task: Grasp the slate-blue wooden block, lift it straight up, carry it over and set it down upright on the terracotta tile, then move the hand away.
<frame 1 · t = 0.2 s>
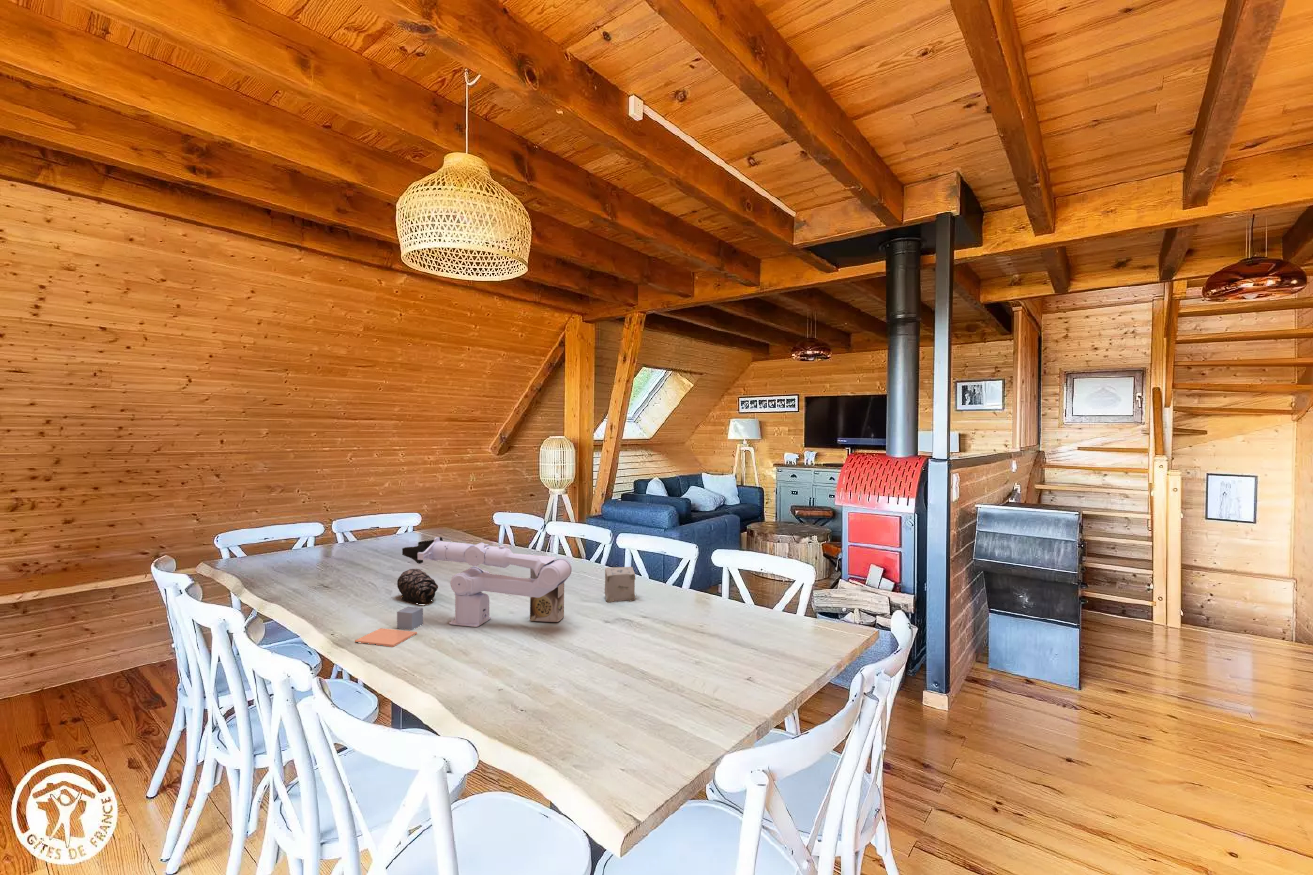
hand: (411, 548, 180), 21 cm above the table, tool horizontal, fingers open, 7 cm apart
slate block: (410, 626, 171), on the table
pine cone: (420, 600, 198), on the table
terracotta tile: (386, 638, 162), on the table
brown cardboard box: (619, 599, 200), on the table
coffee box: (546, 619, 178), on the table
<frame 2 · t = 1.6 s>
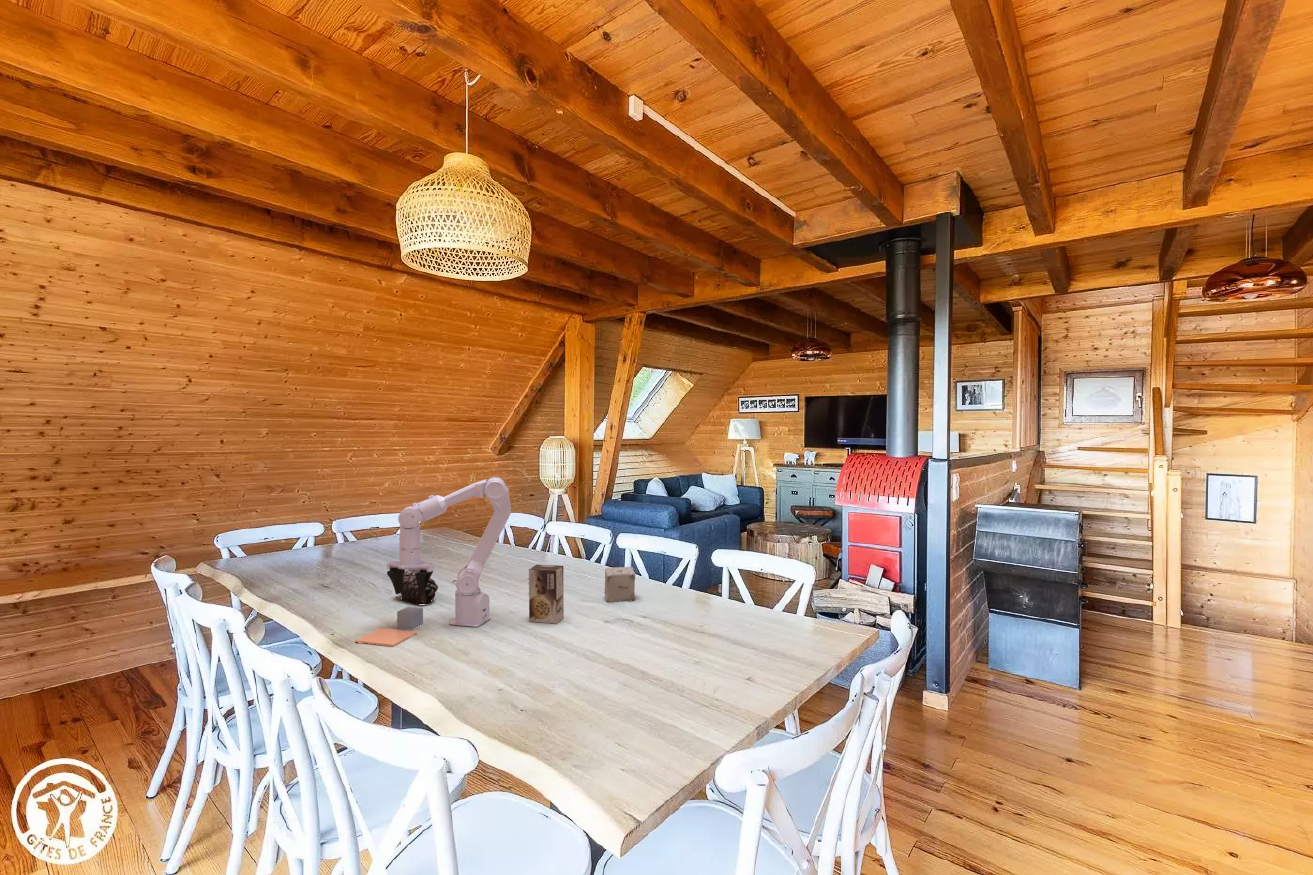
hand: (410, 594, 171), 9 cm above the table, tool pointing down, fingers open, 7 cm apart
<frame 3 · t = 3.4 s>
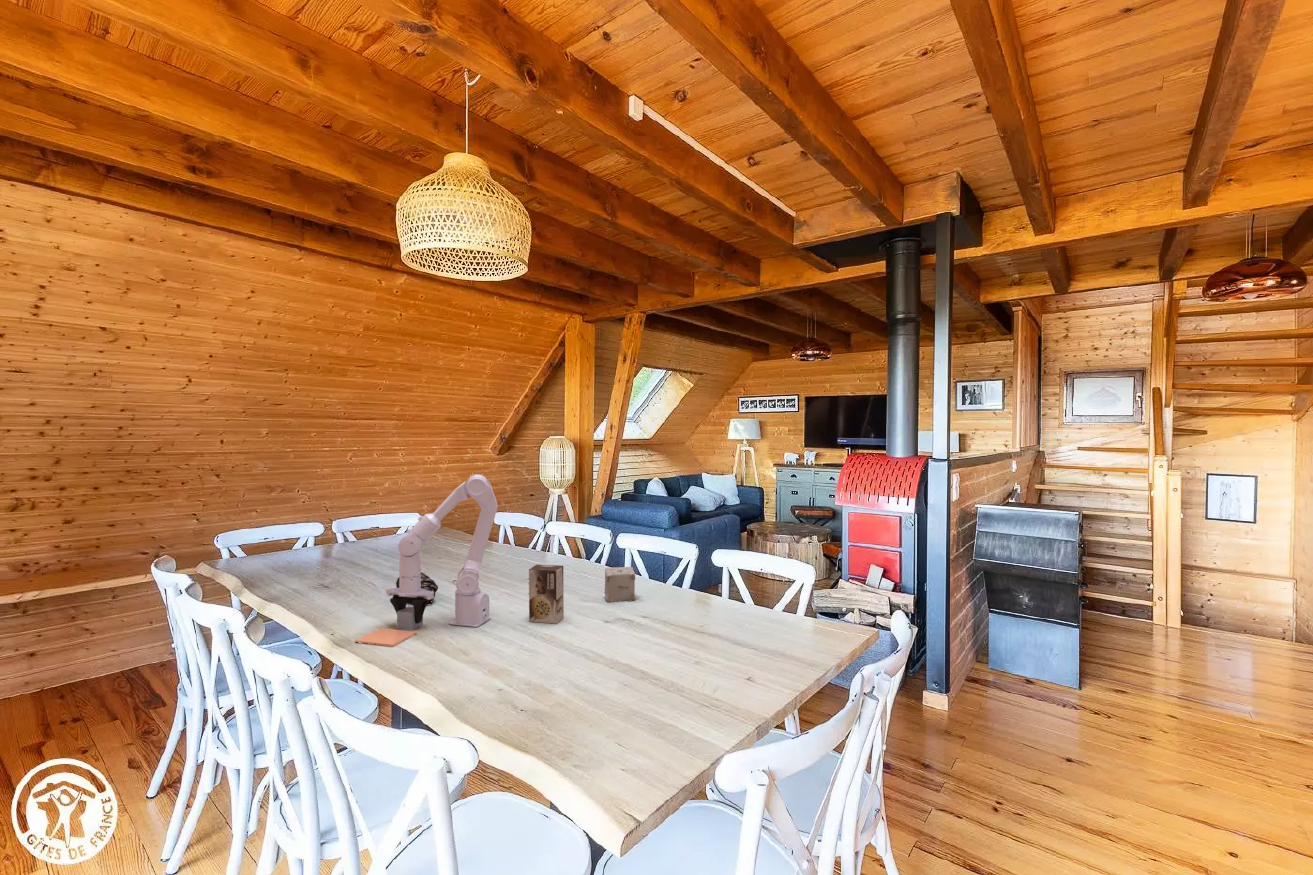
hand: (410, 621, 171), 1 cm above the table, tool pointing down, fingers closed on slate block, 5 cm apart
slate block: (410, 626, 171), on the table, touching gripper
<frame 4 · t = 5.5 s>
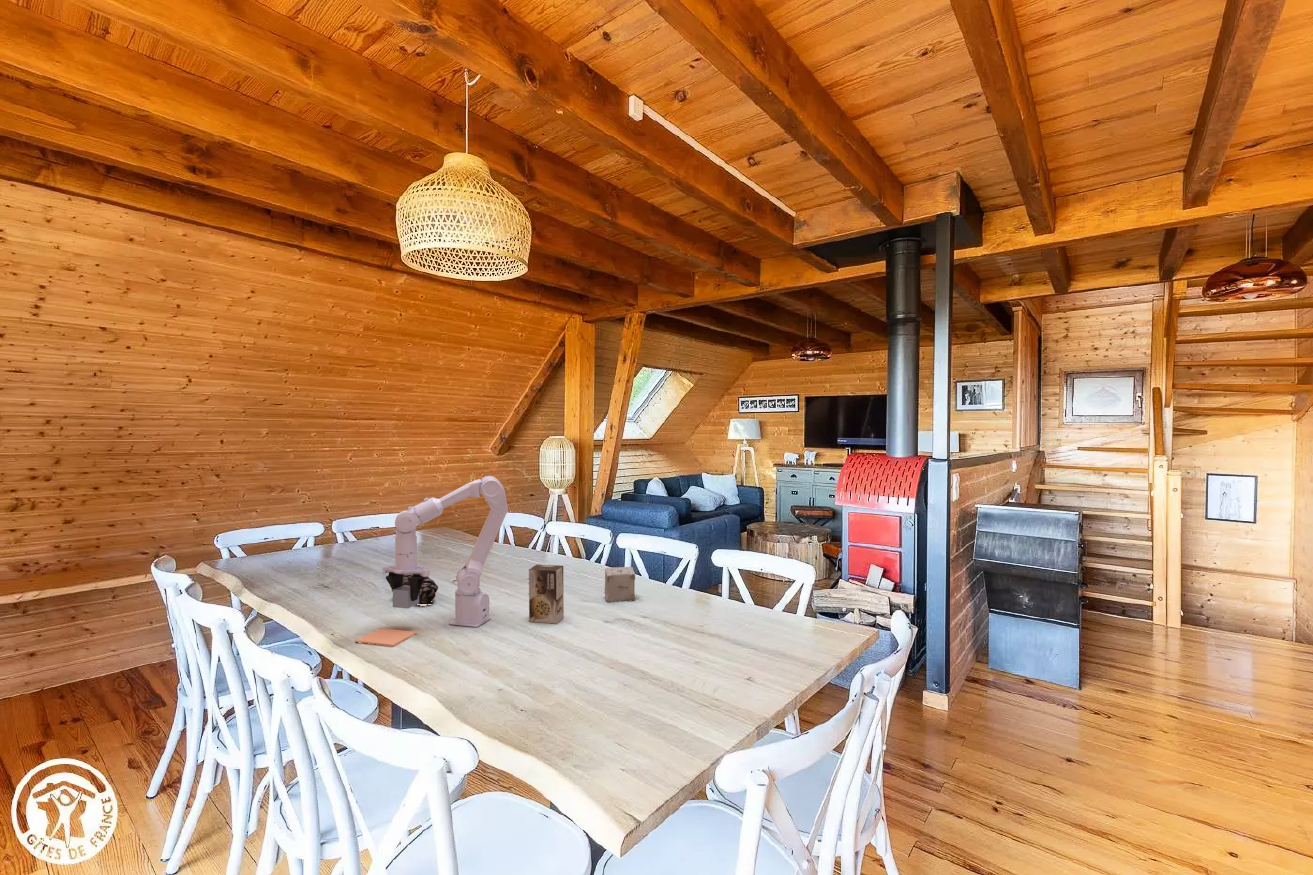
hand: (405, 599, 169), 8 cm above the table, tool pointing down, fingers closed on slate block, 5 cm apart
slate block: (406, 605, 170), point 7 cm above the table, touching gripper
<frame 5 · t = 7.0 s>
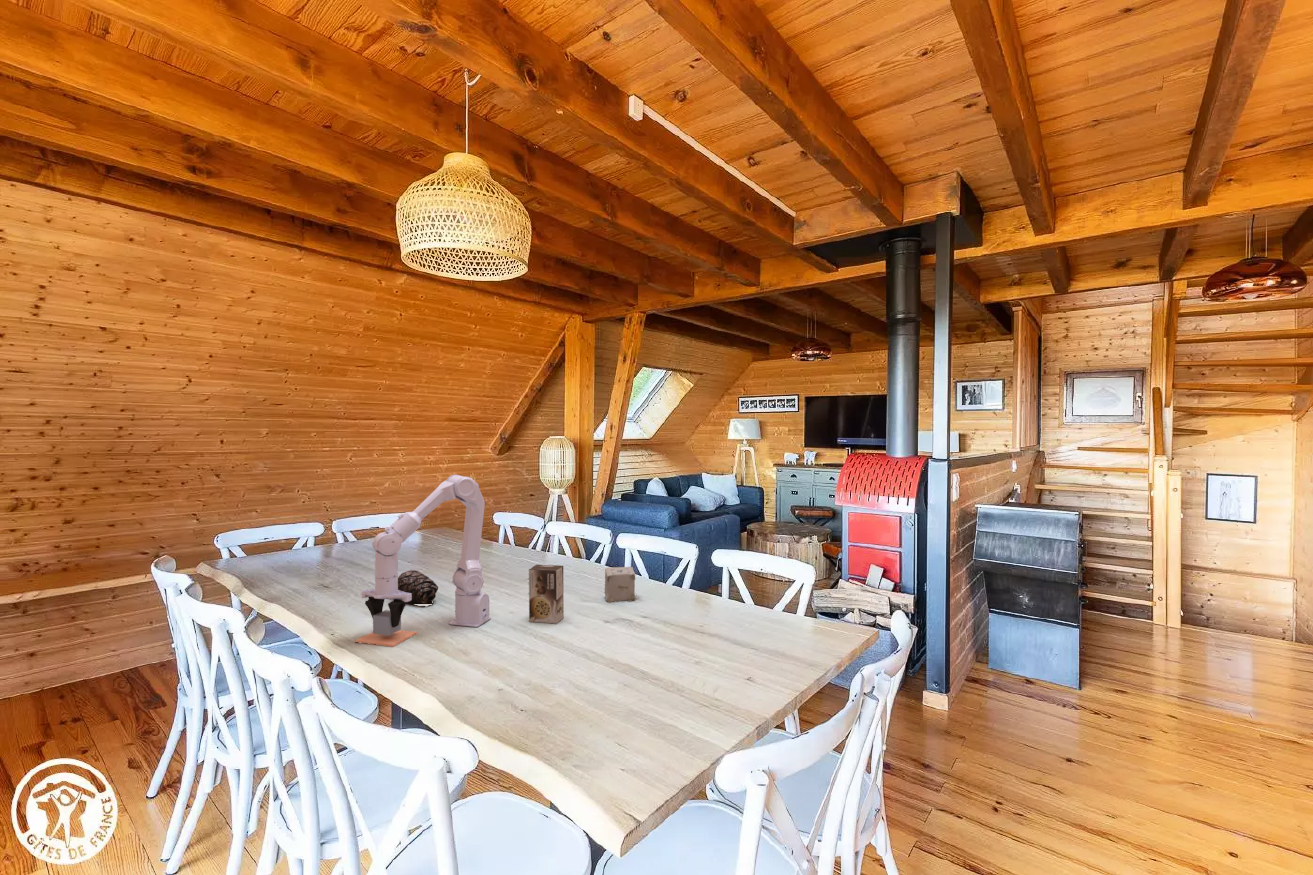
hand: (386, 625, 162), 4 cm above the table, tool pointing down, fingers closed on slate block, 5 cm apart
slate block: (387, 631, 162), point 2 cm above the table, touching gripper
when the fingers open (3 cm above the table, at t = 7.9 s): slate block drops 1 cm, resting on terracotta tile.
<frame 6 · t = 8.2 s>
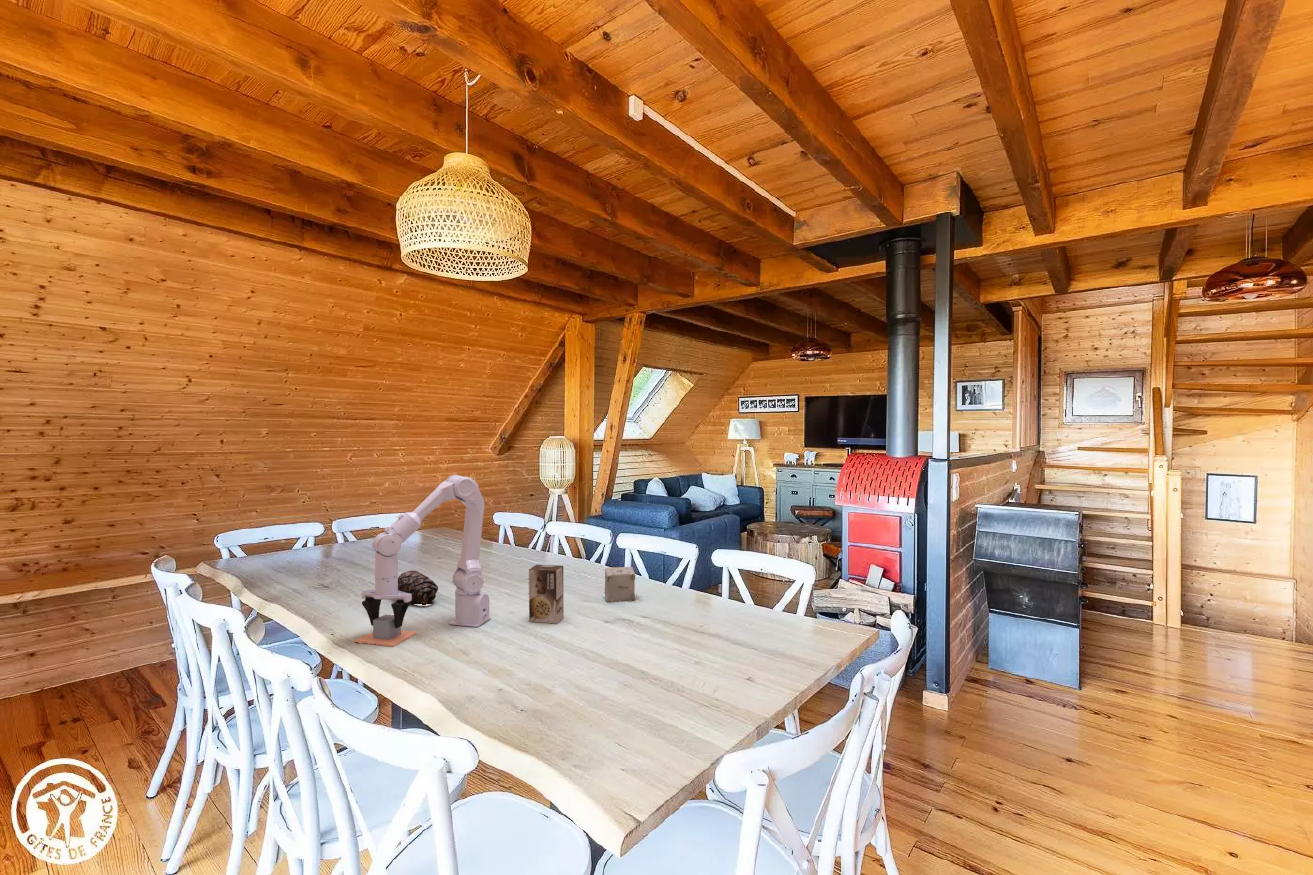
hand: (386, 625, 162), 4 cm above the table, tool pointing down, fingers open, 7 cm apart
slate block: (387, 635, 162), point 1 cm above the table, touching terracotta tile
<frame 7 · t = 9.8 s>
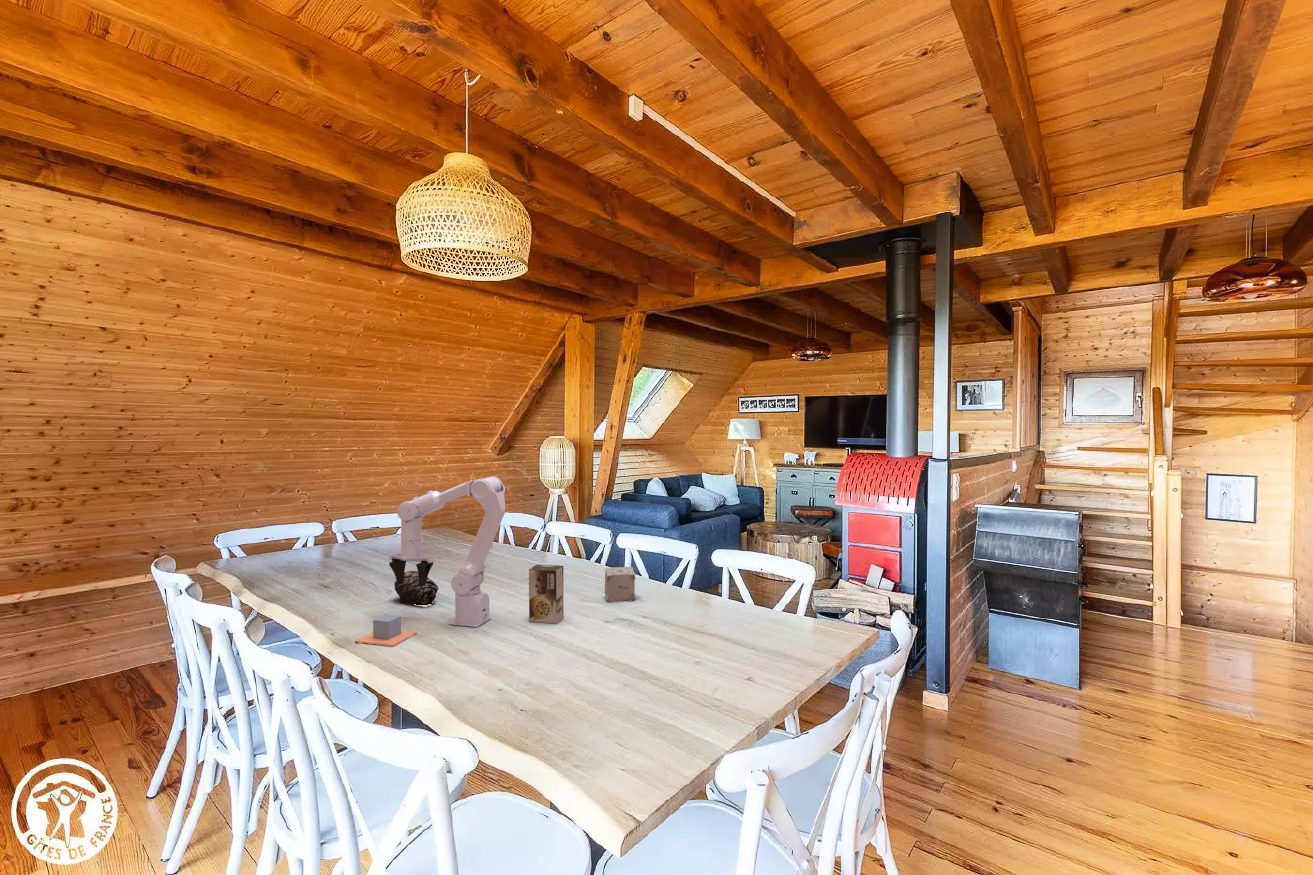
hand: (411, 584, 178), 10 cm above the table, tool pointing down, fingers open, 7 cm apart
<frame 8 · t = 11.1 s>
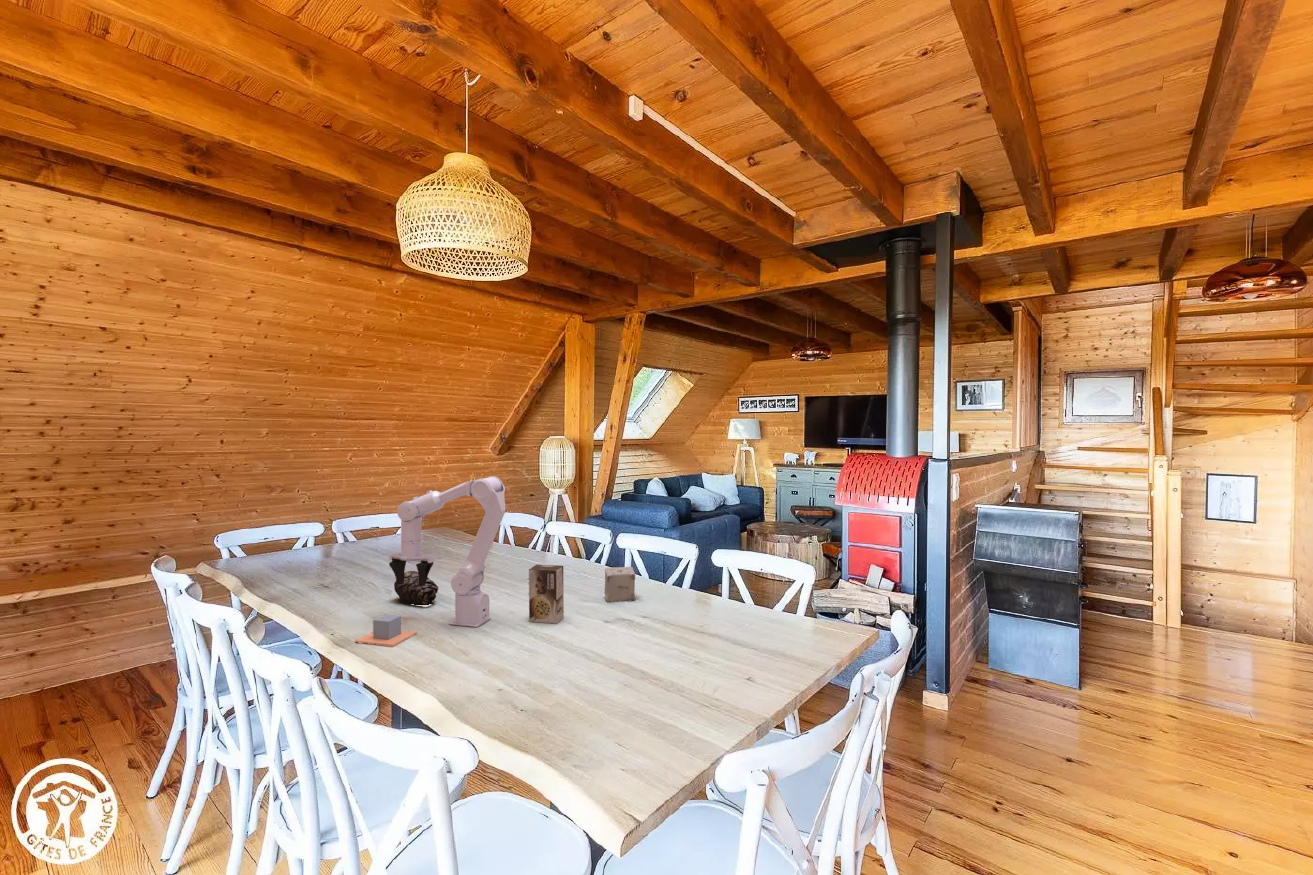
hand: (411, 584, 178), 10 cm above the table, tool pointing down, fingers open, 7 cm apart
at the end: slate block inside the target area on the terracotta tile (0.2 cm from its centre), point 0.6 cm above the terracotta tile's base; slate block tilted 0°; the gripper is holding nothing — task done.
